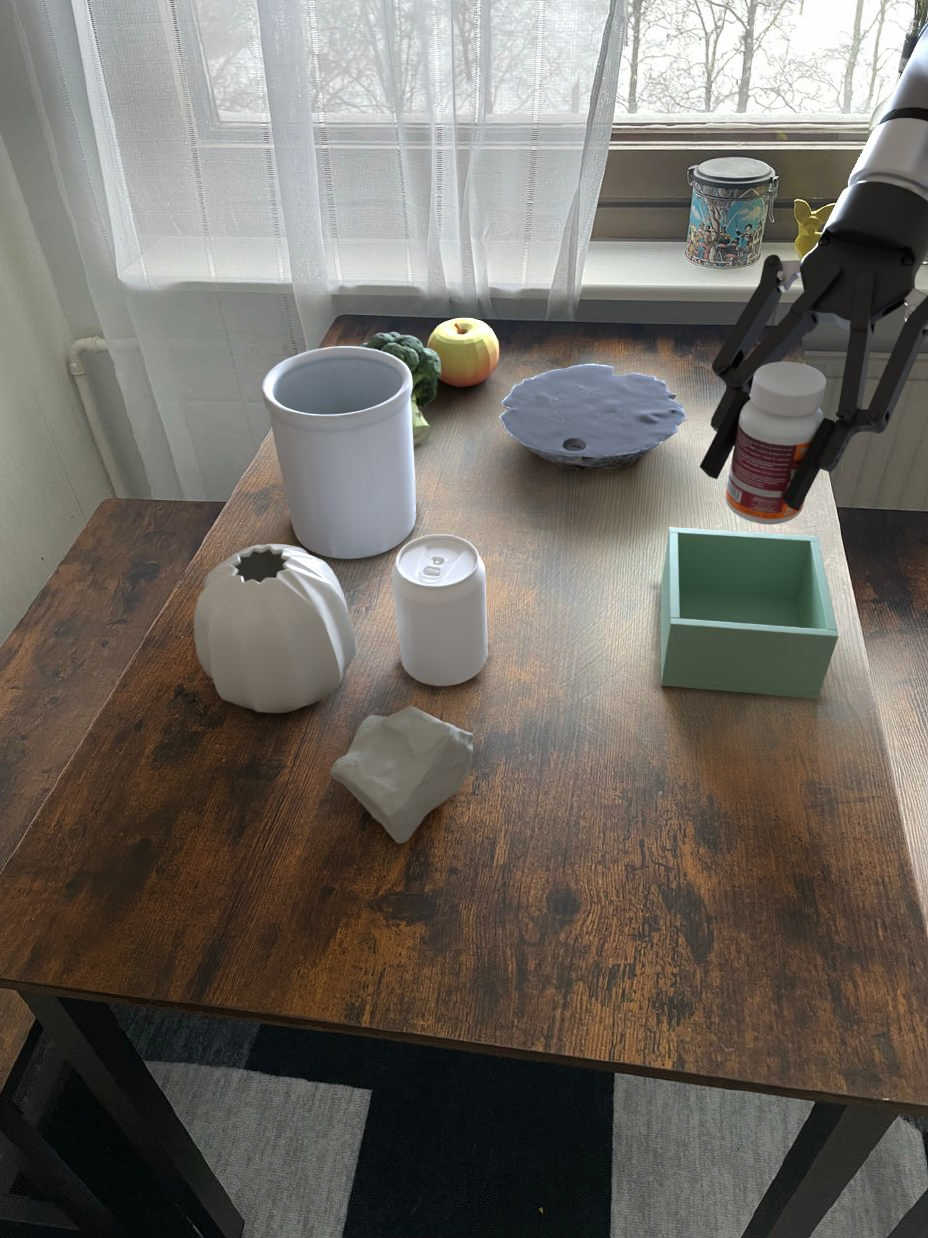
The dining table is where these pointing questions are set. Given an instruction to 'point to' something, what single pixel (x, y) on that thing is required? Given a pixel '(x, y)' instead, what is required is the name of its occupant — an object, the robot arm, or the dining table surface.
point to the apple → (465, 351)
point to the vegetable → (413, 373)
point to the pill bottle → (774, 440)
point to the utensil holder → (345, 448)
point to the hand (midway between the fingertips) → (748, 488)
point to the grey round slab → (591, 416)
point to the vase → (273, 628)
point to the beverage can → (440, 609)
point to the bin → (745, 613)
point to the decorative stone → (405, 767)
